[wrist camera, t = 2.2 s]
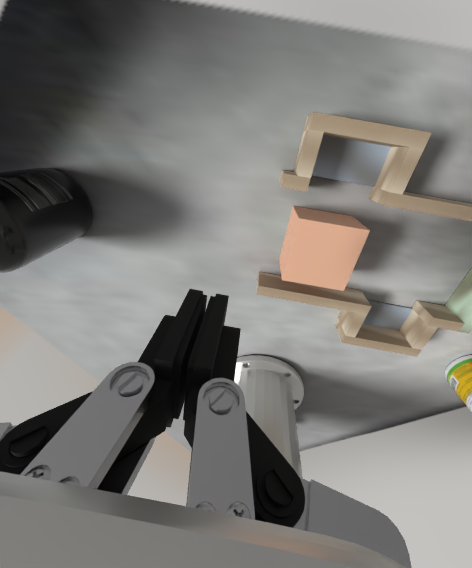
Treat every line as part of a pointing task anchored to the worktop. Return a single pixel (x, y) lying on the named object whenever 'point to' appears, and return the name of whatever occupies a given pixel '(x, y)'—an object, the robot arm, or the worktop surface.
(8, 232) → the supplement bottle
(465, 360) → the supplement bottle
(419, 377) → the worktop surface
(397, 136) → the trap lane
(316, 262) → the terracotta block
